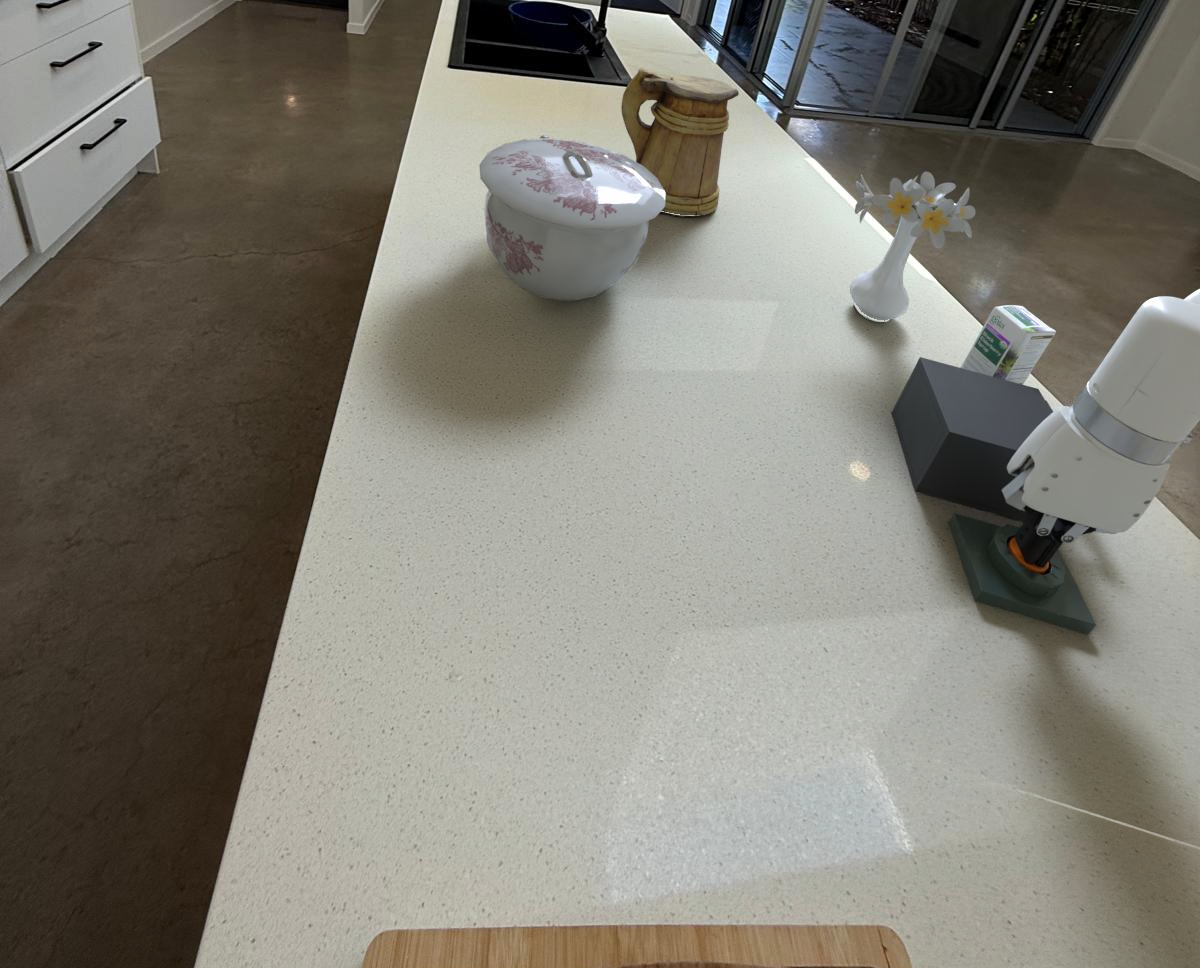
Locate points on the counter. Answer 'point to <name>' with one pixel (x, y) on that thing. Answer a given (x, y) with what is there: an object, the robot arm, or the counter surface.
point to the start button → (1018, 556)
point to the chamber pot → (566, 215)
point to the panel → (1017, 577)
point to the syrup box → (1009, 344)
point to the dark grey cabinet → (965, 433)
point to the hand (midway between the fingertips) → (1028, 552)
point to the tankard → (680, 136)
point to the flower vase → (905, 238)
